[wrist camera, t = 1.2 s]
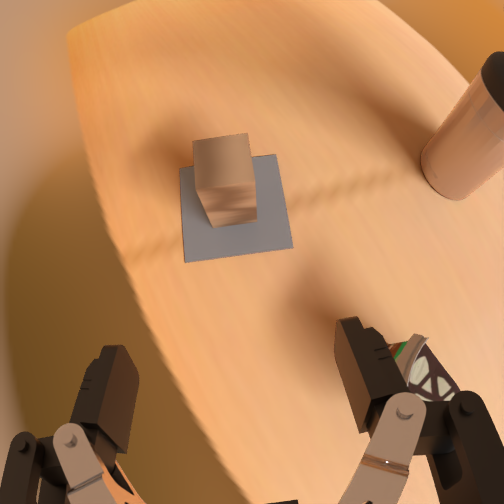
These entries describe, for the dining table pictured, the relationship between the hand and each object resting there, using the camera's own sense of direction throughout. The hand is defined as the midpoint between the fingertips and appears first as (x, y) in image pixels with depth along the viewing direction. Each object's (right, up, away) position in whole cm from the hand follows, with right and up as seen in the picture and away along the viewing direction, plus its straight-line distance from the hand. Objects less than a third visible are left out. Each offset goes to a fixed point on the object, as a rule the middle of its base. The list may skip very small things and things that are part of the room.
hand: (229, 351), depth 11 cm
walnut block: (-1, +9, +25) cm, 27 cm away
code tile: (-1, +9, +25) cm, 27 cm away
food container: (+17, -12, +19) cm, 28 cm away
